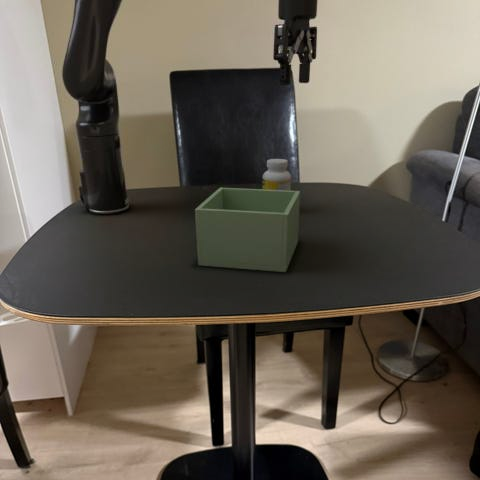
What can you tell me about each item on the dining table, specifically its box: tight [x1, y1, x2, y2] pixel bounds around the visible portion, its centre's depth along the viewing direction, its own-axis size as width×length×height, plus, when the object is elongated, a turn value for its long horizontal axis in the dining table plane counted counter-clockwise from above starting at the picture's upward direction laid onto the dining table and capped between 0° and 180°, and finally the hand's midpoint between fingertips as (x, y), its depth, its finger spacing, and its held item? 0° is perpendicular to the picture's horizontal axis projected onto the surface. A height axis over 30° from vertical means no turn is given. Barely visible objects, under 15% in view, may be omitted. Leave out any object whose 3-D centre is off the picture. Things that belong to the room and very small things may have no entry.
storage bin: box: [194, 187, 301, 273], centre depth 87 cm, size 16×16×10 cm
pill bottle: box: [262, 158, 292, 191], centre depth 110 cm, size 6×6×12 cm
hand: (294, 84), depth 100 cm, fingers open, 8 cm apart
